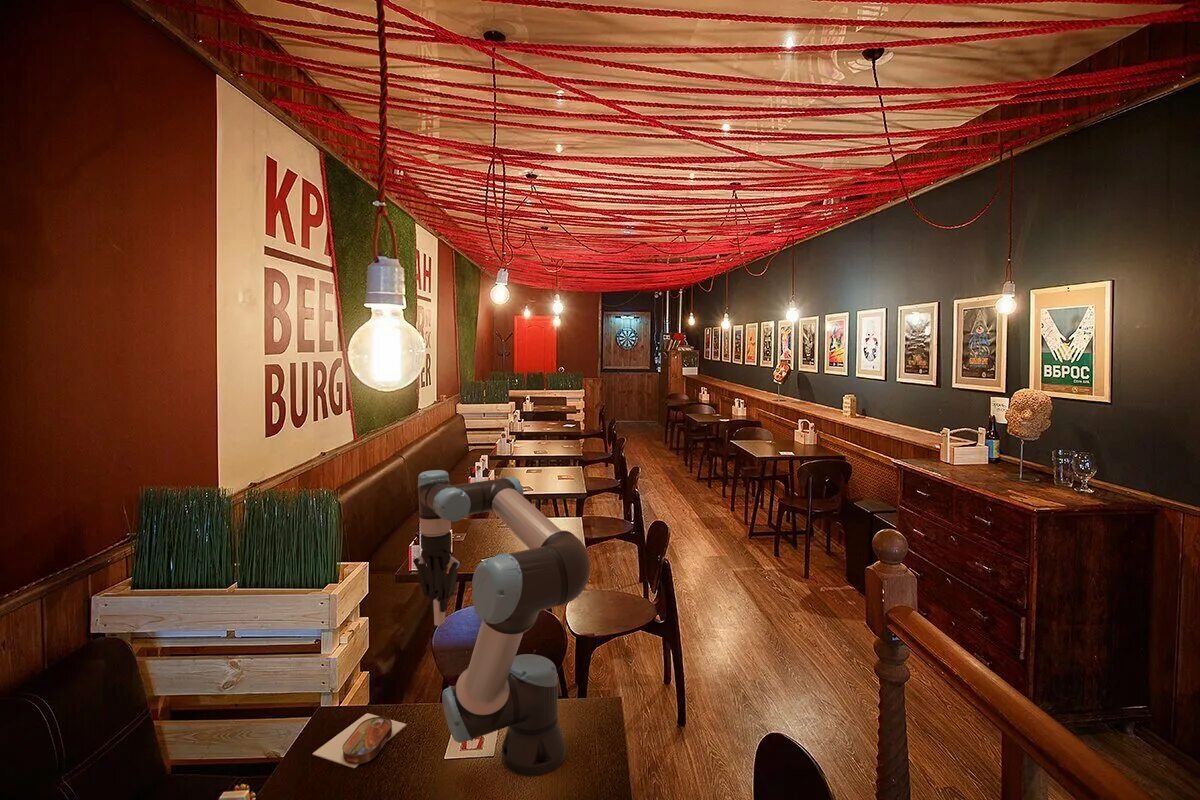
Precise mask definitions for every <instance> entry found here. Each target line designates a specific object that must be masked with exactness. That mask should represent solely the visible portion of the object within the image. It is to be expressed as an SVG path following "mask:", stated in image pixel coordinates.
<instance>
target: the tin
mask: <svg viewBox="0 0 1200 800" xmlns="http://www.w3.org/2000/svg"><path fill="white" fill-rule="evenodd" d="M391 720H392V719H390V718H388V717H386V716H379V717H374V718H370V719H367V720H365V721H363V722H362V723H361V724H359V726H358V727H357V728H356V729H355V731H354V732H353V733H352V734H351V736H350V737H349V738H348V739H347V740H346V742H345V743H344V745H343V748H342V749H343V757H344V760H345V761H346V762H348V763H354V764H359V765H362V764H365V763H368V762H371V761H372V760H374V759H375V758H376V757H377V755H378V754H379V753H380V752H381V751H382V749H383V748H384V746H385V744H386V743H387V742H388V741H389V740H390V739H389V738H390V736H391V734H392V721H391ZM388 739H389V740H388Z"/></svg>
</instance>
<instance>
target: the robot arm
mask: <svg viewBox="0 0 1200 800" xmlns="http://www.w3.org/2000/svg"><path fill="white" fill-rule="evenodd" d="M449 475H450V474H449V472H448V471H446V470H442V469H438V470H437V469H435V470H434V469H433V470H432V469H431V470H426V471H422V472H420V474H418V477H417V479H418V480H417V491H418V506H419V507H418V508H419V531H420V533H421V534H420V548H421V549H422V550H421V553H420V555H419V556H417V557H415V558H413V560H412V563H413V564H414V566H415V567H416V570H417V574H418V577H419V582H420V586H421V589H422V593H423V594H422V595H423V596H425V597H428V598H429V599H430V608H431V611H432V612H433V622H434V626H437V627H440V626H441V625H443V624H444V623H446V611H447V610H448V599H449V598H451V597H452V596H454V595H455V590H456V583H457V578H458V572H459V568H460V566H461V565H462V562H463V561H462V560H461V559H457V558H455V557H453V556H454V555H453V554H454V553H453V551H452V546H453V543H452V541H453V538H452V532H451V530H452V522H458V521H459V522H460V521H462V520H463V519H464V518H465V517H467V516H469V515H474V514H481V513H487V512H492V513H493V514H494V515H495V516H496V517H497V518H499V519H500V520H501V522H503V524H505V526H506V527H507V528H508V529H509V530H510V531H511V532H512V533H513V534H514V535H515V536H516V537H517V538H518V539H519V540H520V541H521V542H522V543H523V544H524V545H525V546H526V548H528V549H525V550H520V551H515V552H511V553H499V554H496V555H495V556H492V557H488V558H485V559H484V560H482V561H481V562H480V563H479V564H477V567H476V569H475V570H474V573H473V576H472V580H471V587H472V591H471V599H472V604H473V608H474V611H475V613H476V615H477V617H478V618H479V619H480V620H481V624H480V627H479V630H478V634H477V637H476V640H475V644H474V647H473V651H472V654H471V658H470V661H469V664H468V667H467V668H466V669H465V670H463V672H462V673H461V674H460V675H459V677H458V679H457V681H456V684H455V685H453V686H452V685H449V686H448V687H447V688H445V689H443V691H442V694H441V700H442V707H443V712H444V716H445V721H446V723H447V726H448V730H449V732H450V735H451V736H452V738H453V740H454V742H457V743H459V744H462V743H466V742H471V741H473V740H476V739H478V738H481V737H483V736H487V735H489V734H491V733H494V732H497V731H499V730H502V729H505V728H506V731H505V736H504V738H503V742H502V744H501V762H502V764H503V766H504V768H506V769H507V770H508V771H510V772H512V773H514V774H517V775H519V776H525V777H526V776H529V777H533V776H534V777H535V776H540V775H544V774H545V775H546V774H547V773H550V772H553V771H554V770H556V769H557V768H559V766H561V765H562V763H563V762H564V761H565V759H566V755H567V743H566V739H565V738H564V734H563V731H562V729H561V725H560V723H559V712H558V711H559V710H558V709H559V705H558V703H559V702H558V701H559V700H558V697H559V695H558V685H559V680H558V671H557V667H556V665H555V663H554V662H553V661H552V660H551V659H549V658H547V657H545V656H542V655H539V654H535V653H534V654H533V653H532V654H531V653H529V654H528V653H525V654H524V653H523V654H519V655H517V652H518V649H519V647H520V644H521V640H522V638H523V635H524V633H526V632H528V631H529V630H530V629H531V628H532V627H533V626H534V625H535V623H536V621H537V619H538V616H539V613H540V612H541V611H544V610H549V609H552V608H556V607H559V606H563V605H566V604H569V603H570V602H572V601H574V600H575V599H577V598H578V597H579V596H580V595H581V594H582V593H583V591H584V589H586V587H587V584H588V582H589V581H590V580H589V579H590V576H591V570H592V568H591V567H592V566H591V559H590V555H589V552H588V549H587V547H586V546H585V545H584V544H583V543H584V542H582V541H581V539H580V538H578V537H577V536H576V535H575V534H574V533H572V532H571V531H568V530H562V529H560V528H559V527H558V526H557V525H556V524H555V523H554V522H553V521H551V520H550V518H548V517H547V516H546V515H544V514H543V513H542V512H541V511H540V510H539V509H538V508H537V507H536V506H534V505H533V504H532V503H531V501H529V500H528V499H527V498H525V496H524V488H523V484H521V481H520V480H519V478H517V477H500V478H495V479H489V480H482V481H475V482H467V483H460V484H458V483H457V484H454V485H452V484H450V483H451V482H450V477H449ZM448 566H449V567H448ZM448 569H449V570H448Z"/></svg>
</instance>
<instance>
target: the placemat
mask: <svg viewBox="0 0 1200 800" xmlns="http://www.w3.org/2000/svg"><path fill="white" fill-rule="evenodd" d="M374 717H380V716H379V715H375V714H373V713H372V714H371V713H365V714H364V715H362V716H361V717H359V718H358V719H357V720H356V721H354V722H353V723H352V724H351V725H349V726H348V727H346V728H345V729H344V730H342V731H341V732H339V733H337V734H336V736H334V737H333V738H332V739H331V738H330V740H328V741H327V742H326V743H325V744H323V745H322V746H320V747H319V748H318V749H317V750H315V751H314V752H313V753H312V756H316V757H320V758H322V759H326V760H328V761H331V762H334V763H337V764H340V765H342V766H346V767H349V768H351V769H355V768H357V767H359V765H360V764H354V763H348V762H346V761H345V760H344V757H343V749H342V748H343V745H344V743H345V742H346V740H347V739H348V738H349V737H350V736H351V734H352V733H353V732H354V731H355V729H356V728H357V727H358V726H359V724H361V723H362V722H363V721H365V720H367V719H370V718H374ZM390 720H391V721H392V734H391V736H390V738H389V739H388V741H390V739H392V738H393V737H394V736H396V735H397V734H398V733H399V732H401V731H402V730H403V729H404V728H405V727H406V726H407V723H404V722H401V721H397V720H393V719H390Z"/></svg>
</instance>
